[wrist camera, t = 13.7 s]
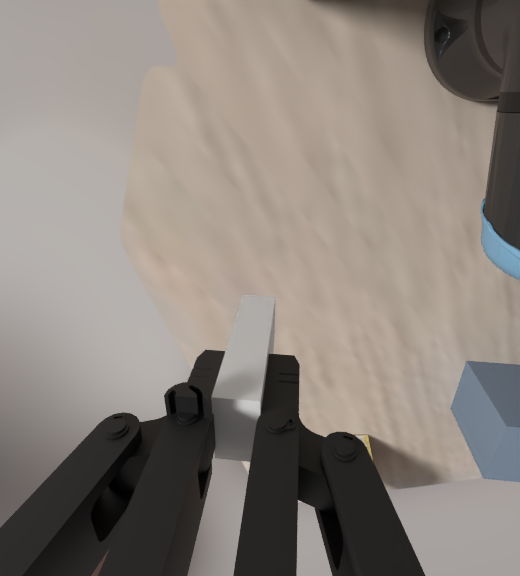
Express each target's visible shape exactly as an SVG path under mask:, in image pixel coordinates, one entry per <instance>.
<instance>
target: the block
mask: <svg viewBox="0 0 520 576" xmlns="http://www.w3.org/2000/svg"><path fill="white" fill-rule="evenodd" d="M451 410H452V412H453V415H454V417H455V419H456V421H457V423H458V425H459V427H460V430H461V432H462V434H463V436H464V438H465V440H466V442H467V445H468V447H469V449H470V451H471V453H472V455H473V457H474V460H475V462H476V464H477V466H478V468H479V470H480V472H481V474H482V477H483V478H484V479H494V480H504V481H514V482H520V365H514V364H501V363H487V362H474V361H466V364H465V367H464V370H463V373H462V376H461V379H460V382H459V385H458V388H457V391H456V394H455V397H454V400H453V403H452V406H451Z"/></svg>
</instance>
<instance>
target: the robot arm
mask: <svg viewBox="0 0 520 576" xmlns="http://www.w3.org/2000/svg"><path fill="white" fill-rule="evenodd" d="M424 45H425V52H426V57H427V60H428V63H429V66H430V68H431V70H432V72H433V74H434V76H435V77H436V79H437V80H438V81H439V82H440V84H441V85H442V86H443V87H444V88H446V89H447V90H448V91H450V92H451V93H453V94H455V95H456V96H459V97H461V98H464V99H468V100H474V101H498V109H497V113H496V121H495V128H494V136H493V143H492V151H491V158H490V166H489V173H488V181H487V189H486V196H485V198H484V199H483V201H482V205H481V215H482V232H481V243H482V246H483V249H484V252H485V254H486V256H487V257H488V258H489V259H490V261H491V262H492V263H493V264H494V265H495V266H496V267H498V268H499V269H500V270H502V271H503V272H505V273H506V274H508V275H510V276H512V277H514V278H516V279H518V280H520V0H431V1H430V4H429V7H428V11H427V15H426V21H425V29H424ZM275 298H276V297H275V296H259V295H243V296H242V299H241V303H240V306H239V309H238V312H237V316H236V319H235V322H234V325H233V329H232V332H231V335H230V338H229V342H228V345H227V348H226V351H215V350H205V351H204V352H203V353H202V354H201V355H200V356H198V357H197V360H196V362H195V364H194V368H193V369H192V372H191V374H190V377H189V380H188V382H185V383H180V384H177V385H174V386H173V387H171V388H170V389H168V391H167V392H166V393H165V395H164V397H165V404H166V412H167V415H166V416H164V417H162V418H159V419H156V420H150V421H145V422H139V420H138V418H137V417H136V416H134V415H133V414H130V413H118V414H114V415H112V416H109V417H107V418H106V419H104V420H103V421H102V422H101V423H99V424H98V425H97V426H96V428H95V429H94V430H93V431H92V432H91V433H90V434H89V435H88V436H87V437H86V438H85V439H84V440H83V441H82V442H81V444H79V445H78V447H77V448H76V449H75V450H74V451H73V452H72V453H71V454H70V455H69V456H68V457H67V458H66V459H65V460H64V461H63V462H62V463H61V464H60V466H59V467H58V468H57V469H56V470H55V471H54V472H53V473H52V474H51V475H50V476H49V477H48V478H47V479H46V480H45V481H44V482H43V483H42V484H41V486H40V487H39V488H38V489H37V490H36V491H35V492H34V493H33V494H32V495H31V496H30V497H29V498H28V499H27V500H26V501H25V502H24V503H23V505H22V506H21V507H20V508H19V509H18V510H17V511H16V512H15V513H14V514H13V515H12V516H11V517H10V518H9V519H8V520H7V521H6V523H5V524H4V525H3V526H2V527H1V528H0V576H91V575H92V573H93V572H94V570H95V569H96V567H97V566H98V564H99V563H100V561H101V560H102V558H103V557H104V555H105V553H106V552H107V551H108V549H109V548H110V549H109V552H108V554H107V556H106V559H105V561H104V563H103V566H102V568H101V570H100V573H99V575H98V576H187V574H188V570H189V566H190V562H191V558H192V554H193V550H194V545H195V541H196V537H197V533H198V529H199V524H200V520H201V516H202V512H203V508H204V504H205V499H206V496H207V492H208V487H209V483H210V479H211V475H212V458H213V453H214V450H215V458H220V459H229V460H239V461H249V462H250V469H249V476H248V482H247V489H246V496H245V502H244V510H243V516H242V523H241V529H240V536H239V543H238V549H237V556H236V562H235V569H234V576H296V564H297V563H296V562H297V512H298V500H300V501H302V502H304V503H306V504H308V505H311V506H313V507H315V511H316V515H317V519H318V523H319V527H320V530H321V534H322V538H323V542H324V545H325V549H326V553H327V557H328V560H329V564H330V568H331V572H332V575H333V576H425V574H424V572H423V569H422V567H421V565H420V563H419V561H418V559H417V556H416V554H415V552H414V550H413V548H412V545H411V543H410V541H409V539H408V537H407V535H406V532H405V530H404V528H403V526H402V524H401V521H400V519H399V517H398V515H397V513H396V511H395V509H394V506H393V504H392V502H391V500H390V498H389V495H388V493H387V491H386V489H385V487H384V484H383V482H382V480H381V478H380V476H379V473H378V471H377V469H376V467H375V465H374V462H373V460H372V458H371V456H370V454H369V452H368V449H367V447H366V446H365V445H364V443H363V442H362V441H361V440H360V439H359V438H357V437H356V436H355V435H352V434H350V433H347V432H335V433H331V434H329V435H328V436H327V437H323V436H320V435H318V434H315V433H313V432H311V431H310V430H308V429H307V428H306V427H305V426H304V425H303V424H302V422H301V420H300V418H299V363H298V361H297V359H296V358H295V356H292V355H279V354H273V348H274V326H275ZM110 546H111V547H110Z"/></svg>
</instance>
